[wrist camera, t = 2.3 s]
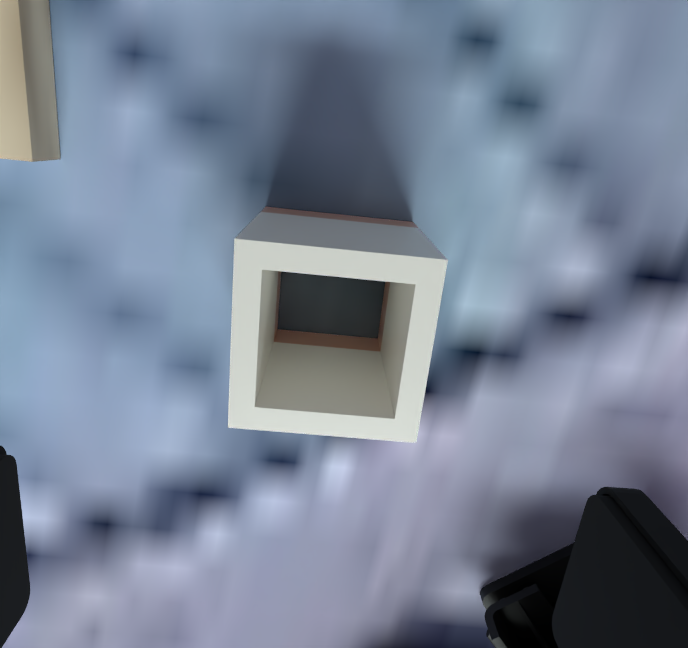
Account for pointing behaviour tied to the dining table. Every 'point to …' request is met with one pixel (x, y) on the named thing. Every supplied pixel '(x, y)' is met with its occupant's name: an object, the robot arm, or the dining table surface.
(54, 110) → the pin board
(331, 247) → the sleeve
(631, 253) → the dining table surface
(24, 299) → the dining table surface
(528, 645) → the end cap
